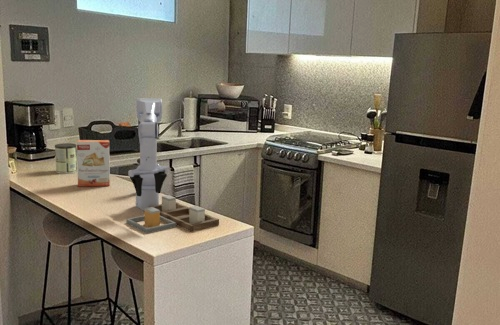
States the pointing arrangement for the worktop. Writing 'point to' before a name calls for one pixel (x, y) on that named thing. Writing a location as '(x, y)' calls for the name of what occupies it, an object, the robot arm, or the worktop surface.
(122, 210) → the worktop surface
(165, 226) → the tray
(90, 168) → the cracker box
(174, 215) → the holder
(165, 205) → the block
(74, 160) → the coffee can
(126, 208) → the worktop surface
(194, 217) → the block
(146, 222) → the grey and orange block
